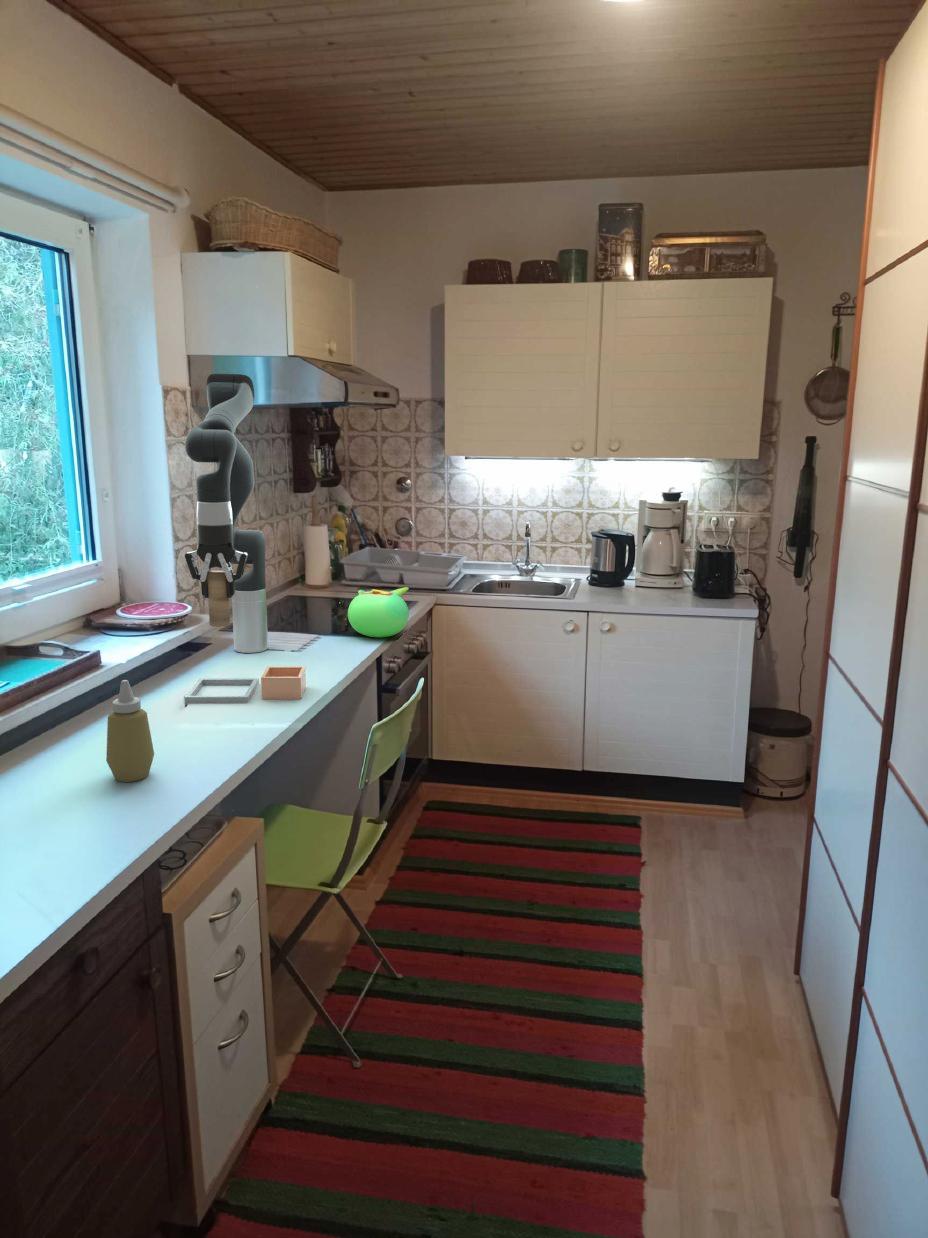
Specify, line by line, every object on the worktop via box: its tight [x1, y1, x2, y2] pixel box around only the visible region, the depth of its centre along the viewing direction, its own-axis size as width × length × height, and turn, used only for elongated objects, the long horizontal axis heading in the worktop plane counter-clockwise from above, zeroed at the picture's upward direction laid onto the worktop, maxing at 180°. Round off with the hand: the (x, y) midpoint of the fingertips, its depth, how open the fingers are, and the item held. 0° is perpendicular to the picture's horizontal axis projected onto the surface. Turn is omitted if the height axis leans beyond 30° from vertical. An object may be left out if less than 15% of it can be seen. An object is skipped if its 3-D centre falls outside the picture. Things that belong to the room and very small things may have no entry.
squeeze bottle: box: [105, 679, 155, 783], centre depth 154 cm, size 8×8×18 cm
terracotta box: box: [260, 666, 307, 700], centre depth 200 cm, size 9×9×6 cm
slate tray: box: [184, 677, 260, 708], centre depth 200 cm, size 14×14×2 cm
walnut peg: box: [207, 570, 231, 628], centre depth 195 cm, size 4×4×12 cm
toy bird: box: [347, 587, 410, 638], centre depth 256 cm, size 18×17×15 cm
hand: (218, 597), depth 195 cm, fingers closed on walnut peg, 4 cm apart
